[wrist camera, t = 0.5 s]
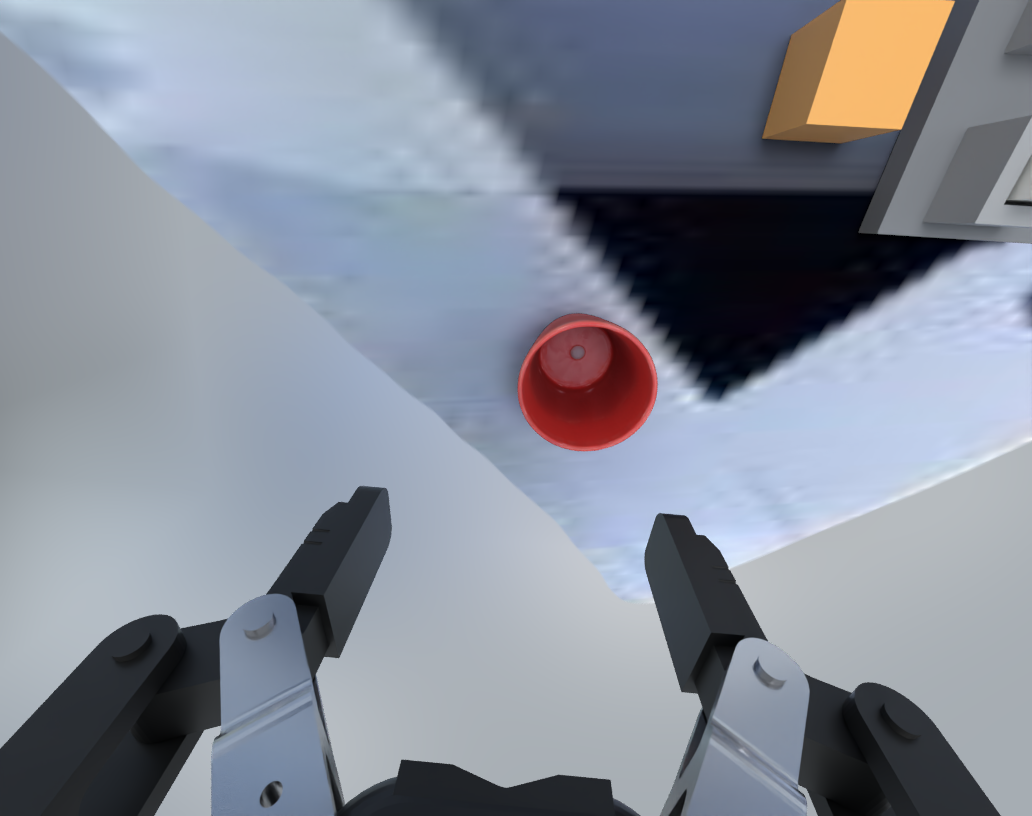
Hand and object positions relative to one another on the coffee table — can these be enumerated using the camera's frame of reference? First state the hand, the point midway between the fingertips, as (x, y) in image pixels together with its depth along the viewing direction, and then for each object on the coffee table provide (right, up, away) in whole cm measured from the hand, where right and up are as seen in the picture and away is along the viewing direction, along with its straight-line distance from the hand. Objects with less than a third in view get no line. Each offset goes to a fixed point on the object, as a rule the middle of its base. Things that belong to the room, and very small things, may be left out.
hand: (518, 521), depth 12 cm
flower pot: (+6, +9, +27) cm, 29 cm away
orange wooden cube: (+22, +27, +17) cm, 38 cm away
